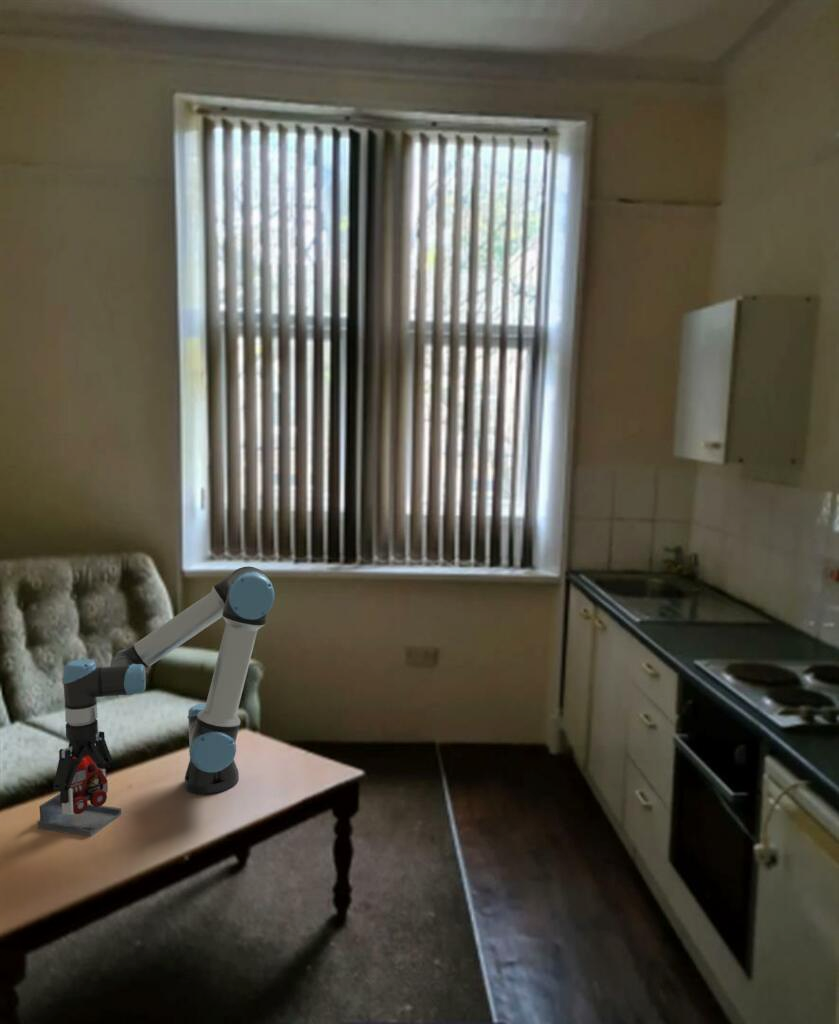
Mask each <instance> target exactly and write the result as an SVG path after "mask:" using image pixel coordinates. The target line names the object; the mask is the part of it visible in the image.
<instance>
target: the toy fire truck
mask: <svg viewBox="0 0 839 1024" xmlns="http://www.w3.org/2000/svg"><path fill="white" fill-rule="evenodd" d="M98 768H99V767H96V765H95V764H93V763H91V764H89V765H88V767H87V769H86V768H85V767H81V768H78V769H77V770H76V773H75V775H74V778H73V781H72V783H71V786H70V788H71V789H72V792H73V813H75V814H81V813H82V812H84V811H85V810H86V808H87V805H88V804H92V805H93V806H95V807H99V806H104V804H105V803H106V802H107V798H108V796H107V793H108V790H109V788H108V779H107V776H106V777H105V776H104V774H103V773H102V771H101V770H100V769H98ZM95 775H97V776H95ZM98 783H99V784H100V785H98ZM65 785H66V784H65ZM88 802H90V803H88ZM60 804H61V806H62V803H61V801H60Z"/></svg>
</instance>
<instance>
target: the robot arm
mask: <svg viewBox="0 0 839 1024" xmlns="http://www.w3.org/2000/svg"><path fill="white" fill-rule="evenodd" d="M274 601H275V590H274V586H273V583H272V582H271V580H270V579H269V578H268V576H266V574H265V573H264V572H263V570H260V569H259V568H257V567H255V566H241V567H239V568H237V569H236V570H235V569H234V571H231V573H230V574H228V575H227V576H225V577H224V578H223V579H222V580H220V581H219V582H217V583H215V585H213V586H212V588H211V591H210V592H209V593H207V594H206V595H205V596H204V597H202V598H200V599H199V600H197V601H195V602H194V603H193V604H192V605H190V606H189V607H187V608H186V609H184V610H182V611H180V612H179V613H178V614H176V615H175V616H174V617H172V618H171V619H169V620H168V621H166V622H165V623H164V624H161V625H160V626H159V627H157V628H156V629H155V630H153V631H152V632H150V633H148V634H147V635H145V636H144V637H143V638H142V639H140V640H138V641H136V642H135V643H134V644H132V645H131V646H129V647H128V648H126V649H122V650H119V651H117V652H116V653H115V654H114V656H113V657H112V658H111V661H110V663H109V665H110V666H105V667H104V666H101V667H100V666H97V665H96V662H95V660H93V659H90V658H89V659H86V658H83V659H82V658H81V659H75V660H72V661H69V662H67V663H66V664H65V665H64V667H63V681H62V682H63V693H64V694H63V696H64V709H65V711H64V713H65V714H64V715H65V716H64V717H65V737H66V739H67V740H68V741H69V743H68V745H67V746H68V747H65V748H60V749H59V751H58V758H59V759H58V764H57V767H56V770H55V771H56V772H55V777H54V781H53V787H52V790H53V791H56V792H59V794H60V801H61V803H62V814H67V815H72V814H73V792H72V789H71V788H70V786H71V783H72V781H73V778H74V775H75V773H76V770H77V767H78V764H79V763H81V761H82V759H83V758H84V757H85V756H87V755H89V756H90V758H91V759H92V760H93V761H94V763H95V764H96V765H97V767H96V768H98V769H100V770H101V771H102V773H103V774H104V776H105V777H106V778H107V769H109V768H110V767H111V764H110V763H112V762H113V759H112V756H111V753H110V750H109V748H108V745H107V744H108V743H107V741H106V740H105V737H106V736H105V731H99V727H98V725H99V724H98V723H99V722H98V717H99V715H98V699H97V698H103V697H115V696H124V695H125V696H126V695H132V696H133V695H135V694H140V693H143V692H145V690H146V687H147V686H146V685H147V683H146V681H147V678H146V669H148V668H149V667H151V666H152V665H154V664H155V663H157V662H158V661H159V660H161V659H162V658H164V657H165V656H168V654H170V653H171V652H173V651H174V650H176V649H178V647H180V646H181V645H183V644H184V643H185V642H188V640H189V641H190V639H192V638H193V637H195V636H196V635H198V634H199V633H201V632H202V631H204V629H206V628H208V627H209V626H211V625H212V624H215V622H217V621H218V620H219V619H221V618H222V619H223V620H224V621H225V627H224V630H223V634H222V639H221V642H220V646H219V651H218V654H217V659H216V663H215V666H214V670H213V675H212V679H211V683H210V686H209V691H208V695H207V699H206V702H203V703H199V704H196V705H193V706H191V707H190V708H189V709H188V713H187V714H188V716H187V720H188V739H189V743H188V744H189V749H188V750H189V762H188V765H187V767H186V771H185V776H184V788H185V789H186V790H187V791H188V792H190V793H194V794H201V795H202V794H203V795H209V794H215V793H221V792H224V791H227V790H229V789H231V788H233V787H235V786H236V785H237V783H238V782H239V781H240V778H239V777H240V774H239V769H238V766H237V764H236V761H235V757H236V755H237V744H236V743H237V742H236V741H237V737H238V733H239V730H240V726H241V719H240V717H239V716H238V710H239V707H240V702H241V700H242V699H241V697H242V694H243V691H244V687H245V682H246V678H247V675H248V670H249V666H250V662H251V658H252V655H253V650H254V647H255V642H256V638H257V635H258V631H259V630H260V629H261V628H262V627H265V625H266V621H267V618H268V613H269V612H270V610H271V609H272V607H273V605H274ZM73 756H74V757H75V758H77V759H73ZM95 776H97V775H95ZM65 784H66V785H65ZM98 785H100V784H99V783H98Z"/></svg>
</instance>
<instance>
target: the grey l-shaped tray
mask: <svg viewBox="0 0 839 1024" xmlns="http://www.w3.org/2000/svg"><path fill="white" fill-rule="evenodd" d="M38 807H39V820H38V821H37V828H38V830H44V831H45V830H46V831H51V832H58V833H63V834H64V833H65V834H70V835H76V836H77V835H78V836H83V837H93V836H94V835H95V834H96V833H98V832H100V831H101V830H102V829H104V828H105V827H106V826H108V825H109V824H111V823H112V822H113V821H116V819H117V818H119V817H121V816H122V808H121V807H115V806H108V805H107V806H106V805H102V806H99V807H95V806H93V805H92V804H91V803H88V805H87V808H86V810H85V811H84V812H82V813H81V814H75V813H73V814H72V815H67V814H62V806H61V804H60V793H58V794H57V795H55V796H53V797H52V798H50V799H49V800H47V801H45V802H44V803H41V804H40V805H39V806H38Z"/></svg>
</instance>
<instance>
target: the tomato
mask: <svg viewBox="0 0 839 1024" xmlns="http://www.w3.org/2000/svg"><path fill="white" fill-rule="evenodd" d="M73 759H77V758H75V757H74V756H73ZM91 763H93V764H95V763H94V761H93V760H92V759H91V758H90V756H89V755H87V756H85V757H84V758H83V759H82V761H81V763H79V764H78V767H77V769H78V768H81V767H85V768H86V769H87V767H88V765H89V764H91ZM95 765H96V764H95ZM96 768H98V767H97V765H96Z"/></svg>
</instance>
